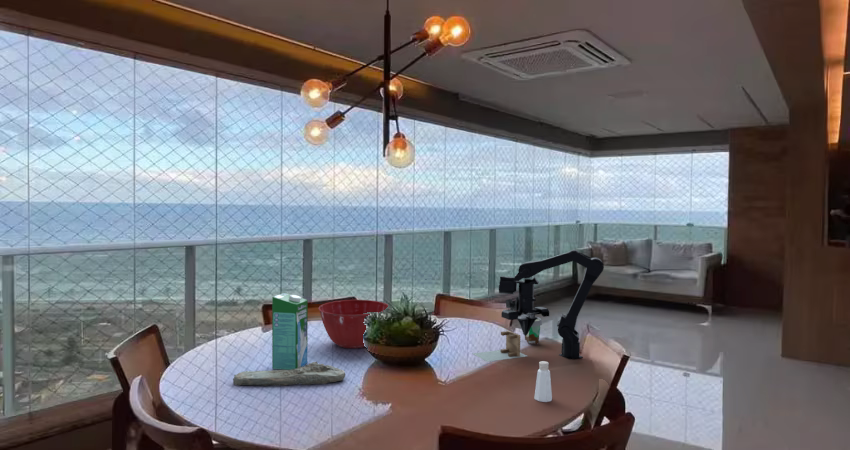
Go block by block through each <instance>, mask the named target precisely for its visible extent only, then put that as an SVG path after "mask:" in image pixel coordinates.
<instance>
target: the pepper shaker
mask: <svg viewBox="0 0 850 450" xmlns="http://www.w3.org/2000/svg"><path fill="white" fill-rule="evenodd" d="M538 365H539V369H537V373H536V381H535V388H534V389H535V391H534V398H533V399H534V400H535V401H538V402H541V403H542V402H543V403H548V402H552V401H553V400H552V399H553V393H552V382H551V381H552V380H551V370H549V365H550V364H549V362H548V361H545V360H542V361H539V362H538Z"/></svg>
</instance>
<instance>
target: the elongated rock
mask: <svg viewBox="0 0 850 450" xmlns="http://www.w3.org/2000/svg"><path fill="white" fill-rule="evenodd" d="M345 378H346V372H345V370H343V369H341V368H338V367H335V366H333V365H331V364H330V365H328V364H326V365H325V364H324V363H319V362H318V361H313V362H310V363H307V364H305V365H304V366H302V367H298V368H296V369H291V370H283V369H274V370H273V369H272V370H250V371H248V370H246V371H242V372H238V373H237V374H234V376H233V379H232V380H233V381H232V383H233V384H234V386H263V387H267V386H272V387H273V386H276V387H277V386H282V387H283V386H293V385H303V386H306V385H308V386H309V385H313V384H314V385H327V384H328V383H336V382H339V381H343V380H344V379H345Z"/></svg>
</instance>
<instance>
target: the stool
mask: <svg viewBox="0 0 850 450" xmlns="http://www.w3.org/2000/svg"><path fill="white" fill-rule="evenodd" d="M500 335H501V336H505V337H506V338H505V342H506V343H505V348H501V349H500V350H501V353H508V352H509V353H508V356H509V357H513V356H520V353H521V334H518V333H516V332H513V331H512V330H505V331H500Z"/></svg>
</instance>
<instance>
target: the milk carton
mask: <svg viewBox="0 0 850 450" xmlns="http://www.w3.org/2000/svg"><path fill="white" fill-rule="evenodd" d="M271 300H272V301H271V303H272V305H271V308H272V309H271V310H272V317H271V318H272V320H271V321H272V323H271V324H272V325H271V326H272V327H271V329H272V330H271V331H272V332H271V334H272V336H271V337H272V339H271V340H272V341H271V342H272V343H271V345H272V353H271V355H272V357H271V359H272V363H271V367H272V370H273V369H274V370H291V369H296V368H298V367H304V366H305V365H307V364H308V341H309V340H308V337H309V336H308V333H309V331H308V326H309V324H308V322H309V321H308V320H309V319H308V317H309V316H308V312H309V311H308V309H309V308H308V305H309V304H308V299H306V298H303V297H301V296H299V295H297V294H290V293H287V292H282V293H280V294H277V295H274V296H272V299H271Z"/></svg>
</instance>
